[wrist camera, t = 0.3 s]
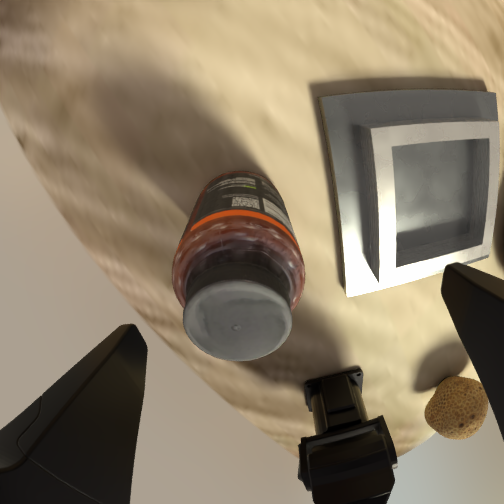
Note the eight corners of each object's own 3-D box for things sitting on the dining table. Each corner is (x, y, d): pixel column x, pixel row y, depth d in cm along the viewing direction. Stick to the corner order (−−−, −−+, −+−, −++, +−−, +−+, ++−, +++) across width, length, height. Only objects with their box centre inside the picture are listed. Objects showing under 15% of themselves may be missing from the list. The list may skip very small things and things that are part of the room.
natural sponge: (481, 360, 31) (510, 410, 22) (445, 398, 35) (466, 447, 26) (447, 358, 30) (479, 419, 21) (408, 400, 34) (428, 457, 25)
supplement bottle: (220, 260, 22) (202, 389, 12) (182, 190, 19) (120, 291, 10) (296, 231, 21) (334, 353, 11) (264, 154, 18) (285, 227, 9)
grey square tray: (482, 252, 22) (500, 268, 20) (343, 290, 24) (353, 313, 21) (487, 91, 15) (512, 95, 12) (317, 97, 16) (330, 97, 14)
